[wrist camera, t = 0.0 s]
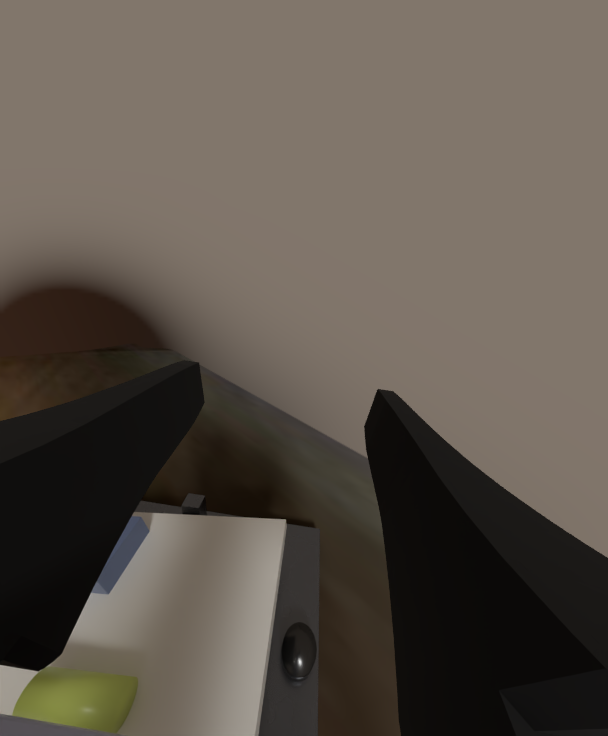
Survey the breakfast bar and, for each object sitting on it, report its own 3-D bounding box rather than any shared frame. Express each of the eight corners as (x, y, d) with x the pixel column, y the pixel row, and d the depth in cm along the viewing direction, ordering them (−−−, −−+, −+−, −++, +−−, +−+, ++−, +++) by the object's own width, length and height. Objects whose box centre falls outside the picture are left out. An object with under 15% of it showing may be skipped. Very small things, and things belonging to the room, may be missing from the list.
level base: (317, 536, 24) (326, 505, 22) (308, 1008, 9) (334, 1074, 7) (94, 501, 25) (78, 466, 22) (-284, 895, 9) (-464, 919, 7)
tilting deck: (286, 526, 20) (283, 504, 18) (242, 850, 9) (228, 851, 8) (100, 516, 21) (86, 495, 20) (-130, 780, 10) (-194, 771, 9)
